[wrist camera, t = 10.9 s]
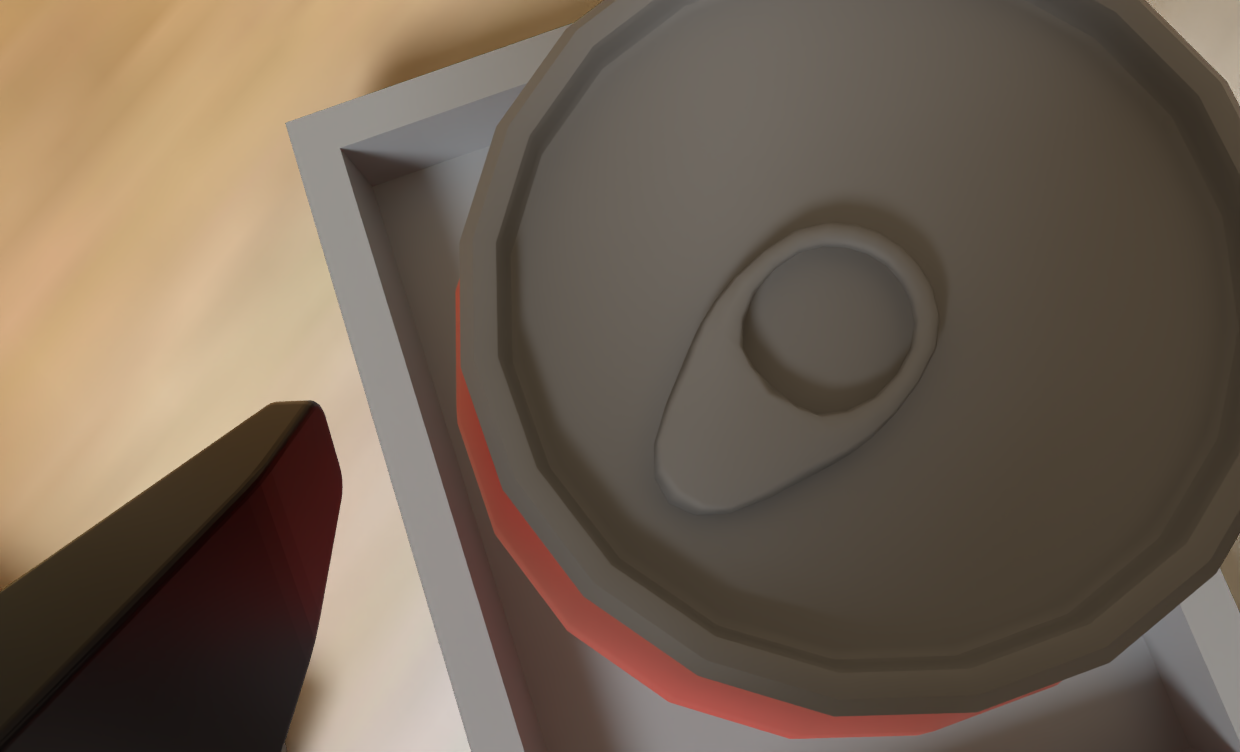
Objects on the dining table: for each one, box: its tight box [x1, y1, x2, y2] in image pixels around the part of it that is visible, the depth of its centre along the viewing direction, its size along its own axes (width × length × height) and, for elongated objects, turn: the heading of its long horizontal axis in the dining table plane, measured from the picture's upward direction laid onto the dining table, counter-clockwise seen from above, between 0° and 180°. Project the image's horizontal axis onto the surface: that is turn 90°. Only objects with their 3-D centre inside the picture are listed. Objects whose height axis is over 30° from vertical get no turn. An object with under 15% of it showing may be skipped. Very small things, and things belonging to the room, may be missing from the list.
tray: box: [285, 23, 1240, 752], centre depth 18 cm, size 16×12×2 cm
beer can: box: [455, 0, 1240, 739], centre depth 13 cm, size 7×7×12 cm
